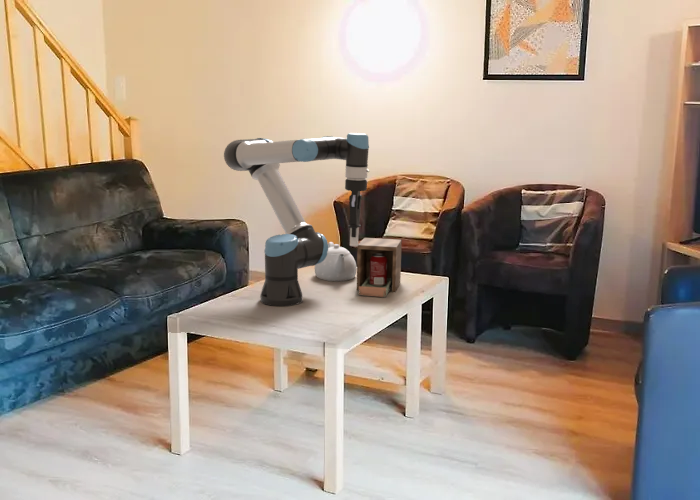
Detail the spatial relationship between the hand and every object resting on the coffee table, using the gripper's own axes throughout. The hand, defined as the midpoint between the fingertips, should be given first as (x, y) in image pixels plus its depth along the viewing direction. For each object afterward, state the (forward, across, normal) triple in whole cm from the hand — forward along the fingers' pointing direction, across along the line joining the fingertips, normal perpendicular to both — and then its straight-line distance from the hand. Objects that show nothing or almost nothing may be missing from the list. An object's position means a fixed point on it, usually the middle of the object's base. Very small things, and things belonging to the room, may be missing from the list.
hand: (353, 245), depth 275 cm
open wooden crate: (+22, +28, -7) cm, 36 cm away
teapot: (+23, +40, +13) cm, 48 cm away
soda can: (+21, +25, -6) cm, 33 cm away
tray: (+22, +22, -6) cm, 31 cm away
